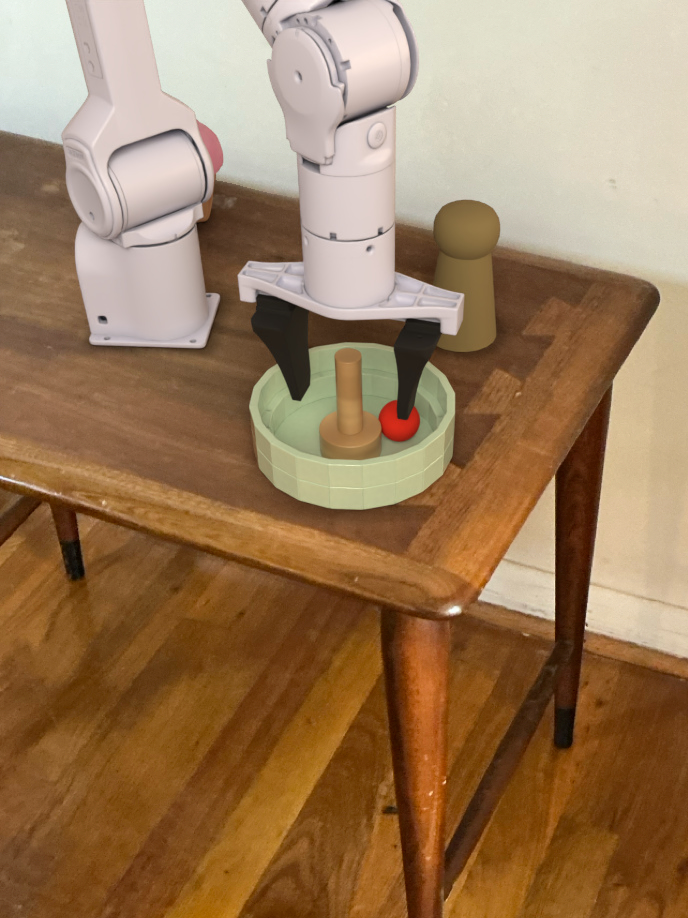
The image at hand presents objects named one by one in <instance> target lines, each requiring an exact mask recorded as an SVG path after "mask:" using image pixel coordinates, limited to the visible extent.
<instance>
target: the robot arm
mask: <svg viewBox="0 0 688 918" xmlns="http://www.w3.org/2000/svg"><path fill="white" fill-rule="evenodd" d="M64 1H65V5H66V9H67V13H68V17H69V21H70V25H71V29H72V32H73V38H74V41H75V44H76V49H77V53H78V57H79V62H80V66H81V69H82V73H83V74H82V75H83V77H84V81H85V86H86V90H87V93H88V94H87V97H86V98H85V100H84V102H83V103H82V104H81V106H80V107H78V109H77V111H76V112H75V114H74V115H73V116H72V117H71V119H70V120H69V122H68V123H67V124H66V125H65V127H64V129H63V130H62V132H61V133H60V138H61V140H62V149H63V153H64V159H65V160H64V161H65V184H66V185H65V186H66V189H67V193H68V197H69V199H70V201H71V204H72V207H73V209H74V211H75V212H76V214H77V216H78V218H79V219H80V220H81V222H80V223H79V225H78V227H77V230H76V234H75V240H74V262H75V263H74V264H75V270H76V276H77V280H78V284H79V288H80V293H81V297H82V302H83V306H84V310H85V314H86V318H87V322H88V327H89V331H90V335H89V337H88V342H89V344H90V345H91V346H106V347H107V346H108V347H109V346H111V347H112V346H113V347H139V348H141V347H145V348H172V349H173V348H174V349H175V348H177V349H203V348H205V347H206V345H207V343H208V341H209V336H210V333H211V330H212V327H213V325H214V321H215V318H216V316H217V315H216V314H217V311H218V308H219V305H220V302H221V295H220V294H219V293H217V292H207V291H206V284H205V283H206V282H205V277H204V270H203V269H204V268H203V262H202V255H201V249H200V241H199V240H200V239H199V232H198V227H197V223H196V221H198V220H199V219H201V218H203V217H204V216H203V208H202V204H203V203H205V202H207V201H208V200H209V199H210V197H211V195H212V192H213V193H214V191H213V187H214V188H215V184H214V169H213V164H212V160H211V157H210V155H209V152H208V150H207V148H206V146H205V144H204V142H203V140H202V137H201V134H200V131H199V128H198V125H197V121H196V119H197V117H196V113H195V111H194V110H193V109H192V107H190V106H188V105H187V104H186V103H184V102H183V101H181V100H180V99H178V98H177V97H175V96H173V95H171V94H169V93H167V92H165V91H163V90H162V89H163V88H162V85H161V79H160V76H159V70H158V65H157V60H156V55H155V50H154V45H153V41H152V40H153V39H152V36H151V30H150V25H149V21H148V16H147V11H146V6H145V2H144V0H64ZM241 2H242V4H243V5H244V6H245V9H246V10H247V12H248V14H249V15H250V16H251V17H252V19H253V21H254V22H255V25H256V26H257V27H258V29H259V30H260V32H261V34H262V35H263V37H264V39H265V40H266V41H267V43H268V45H269V46H270V48H271V58H267V59H266V68H267V75H268V77H269V81H270V85H271V88H272V91H273V94H274V96H275V98H276V101H277V103H278V104H279V106H280V109H281V111H282V115H283V119H284V124H285V138H286V140H288V142H289V147H290V150H291V151H292V152H294V153H295V154H296V167H297V182H298V196H299V198H298V199H299V217H300V233H301V248H302V261H285V262H284V261H283V262H281V261H279V262H269V261H268V262H267V261H256V260H248V261H247V262H246V264H244V266H243V267H242V269H241V270H240V271H239V273H238V274H237V285H238V291H239V300H240V301H241V302H245V303H251V304H252V303H253V304H254V303H256V305H255V311H254V312H253V314H252V315H251V317H250V325H251V328H252V332H254V334H255V335H256V336H257V337H258V338H259V339H260V340H261V342H263V344H264V345H265V346H266V348H267V350H268V351H269V353H270V354H271V355H272V357H273V358H274V360H275V362H276V364H278V366H279V368H280V370H281V372H282V374H283V377H284V379H285V381H286V384H287V387H288V389H289V392H290V395H291V398H292V400H295V401H301V400H302V398H303V397H304V395H305V393H306V391H307V390H308V388H309V386H310V378H311V369H310V358H309V349H310V348H309V347H310V346H309V318H310V317H309V316H310V312H311V313H314V314H317V315H319V316H322V317H325V318H328V319H332V320H339V321H368V320H370V321H371V320H372V321H373V320H374V321H375V320H392V321H398V322H404V325H403V327H402V329H401V330H400V332H399V333H398V336H397V337H396V339H395V342H394V343H393V347H394V354H395V359H396V365H397V374H398V396H397V418H398V419H402V420H408V418H409V416H410V414H411V411H412V409H413V407H414V405H415V398H416V393H417V388H418V384H419V381H420V378H421V375H422V372H423V369H424V367H425V365H426V364H427V362H428V361H429V362H430V359H431V357H432V356H433V353H434V352H435V350H436V348H437V344H438V341H439V339H440V337H441V335H442V333H443V334H448V335H456V334H457V332H458V330H459V328H460V326H461V323H462V321H463V309H464V294H463V293H457V292H452V291H448V290H444V289H441V288H438V287H435V286H433V284H430V283H427V282H424V281H422V280H419V279H416V278H414V277H411V276H409V275H406V274H404V273H400V272H397V271H395V269H396V255H395V254H396V251H395V250H396V173H397V171H396V168H397V167H396V165H397V164H396V163H397V162H396V161H397V160H396V159H397V157H396V156H397V137H396V136H397V130H396V129H397V105H395V104H396V103H397V102H399V101H402V100H403V99H405V98H406V97H408V96H409V94H410V93H411V92H412V91H413V89H414V88H415V84H416V82H417V79H418V76H419V71H420V70H419V69H420V51H419V46H418V45H419V44H418V40H417V36H416V33H415V30H414V28H413V25H412V22H411V21H410V19H409V17H408V15H407V13H406V11H405V8H404V5H403V3H401V1H399V0H241Z"/></svg>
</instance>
